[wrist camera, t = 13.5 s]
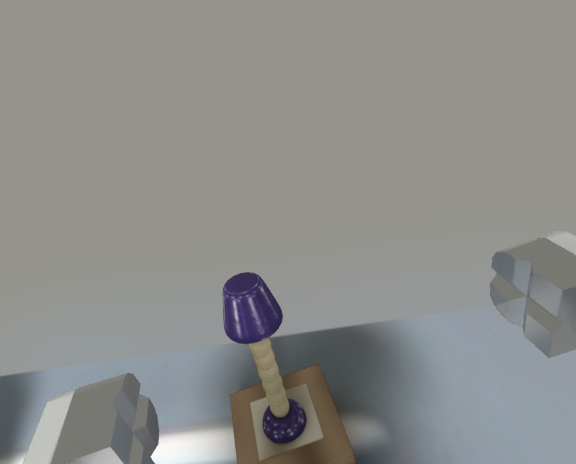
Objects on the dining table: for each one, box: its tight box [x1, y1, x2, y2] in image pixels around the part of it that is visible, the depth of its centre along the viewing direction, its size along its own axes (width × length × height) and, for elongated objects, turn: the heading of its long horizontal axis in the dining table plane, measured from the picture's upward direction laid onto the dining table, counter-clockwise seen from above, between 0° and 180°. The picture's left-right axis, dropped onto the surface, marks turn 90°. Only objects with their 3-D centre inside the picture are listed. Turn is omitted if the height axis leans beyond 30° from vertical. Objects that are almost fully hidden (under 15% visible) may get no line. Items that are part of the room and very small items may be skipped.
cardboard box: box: [230, 364, 356, 464], centre depth 37 cm, size 10×10×5 cm
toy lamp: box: [223, 272, 307, 444], centre depth 32 cm, size 5×5×17 cm
